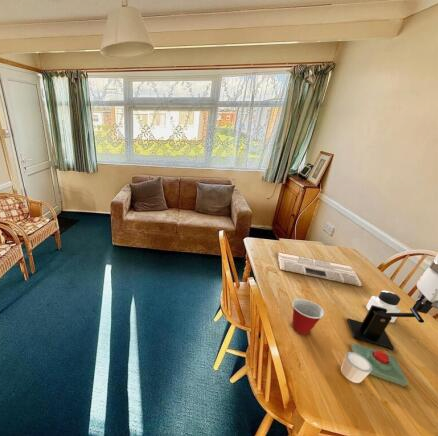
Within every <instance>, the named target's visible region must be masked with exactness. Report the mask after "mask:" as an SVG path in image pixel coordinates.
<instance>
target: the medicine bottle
mask: <svg viewBox="0 0 438 436" xmlns="http://www.w3.org/2000/svg"><path fill="white" fill-rule="evenodd" d="M400 302H401V297H400V296H399V295H398V294H396V293H395V292H392V291H390V290H381V291H380V293H379V295H378V296H376V295H372V296H371V297H370V299H369V301H368V303H367V304H366V306H365V308H366V309H367V311H369V310H370V308H371V306H372V305H373V306H377V307H381V308H385V309H387V312H386V313H402V310H401V309H400V307H399V306H398V305H399V303H400ZM397 319H398V317H392V319H391V320H390V322H389V323H395V322H396V320H397Z"/></svg>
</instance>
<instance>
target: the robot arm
mask: <svg viewBox="0 0 438 436" xmlns="http://www.w3.org/2000/svg"><path fill="white" fill-rule="evenodd" d="M416 287H417V289H418V292H419V294H418V296H417V299H416V302H415V303H414V304H413V306H412V308H413V309H414V310H415V311H417V312H418V313H421V314H424V315H427V314H428V313H429V312H430V310H431V308H434V309H438V253H437V254H436V255H435V257H434V258H433V261H432V262H431V264H430V265H429V266H428V268H427V269H426V270H425V271H424V272H423V274H421V276H420V278H419V279H418V280H417V282H416Z"/></svg>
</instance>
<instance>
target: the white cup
mask: <svg viewBox="0 0 438 436" xmlns="http://www.w3.org/2000/svg"><path fill="white" fill-rule="evenodd" d="M371 371H372V366H371V364H370V363H369V361H368V360H366V359H365V358H364V357H363V356H361V355H359V354H357V353H354V352H353V351H348V352H346V354H345V355H344V359H343V361H342V364H341V367H340V372H341V374H342V375H343V376H344V377H345V379H347V380H348V381H350V382H352V383H354V384H361V382H362V381H363V380H364V379H365V378H367V377H368V375H370V374H369V373H370V372H371Z"/></svg>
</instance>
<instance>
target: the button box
mask: <svg viewBox="0 0 438 436" xmlns="http://www.w3.org/2000/svg"><path fill="white" fill-rule="evenodd" d="M350 348H351V352H354V353H357V354H359V355H361V356H363V357H364V358H365V359H366V360H368V361H369V363H370V364H371V366H372V371H371V372H370V373H369V374H368V375H372V376H374V377H377V378H380V379H383V380H385V381H388V382H391V383H393V384H396V385H399V386H402V387H406V386H407V385H408V383H409V382H408V380H407V378H406V376H405V374H404V372H403V370H402V368H401V366H400V364H399V362H398V361H397V358H396V356H395V355H392V354H389V353H385V352H384V353H385V354H386V355H387V356H388V357H389V361H388V362H387V363H385V364H384V363H381V362H379V361H378V360H376V359H375V358H374V356H373V354H374V353H375V351H379V350H377V349H375V348H370V347H367V346H364V345H361V344H358V343H354V342H353V343H351V345H350Z"/></svg>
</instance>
